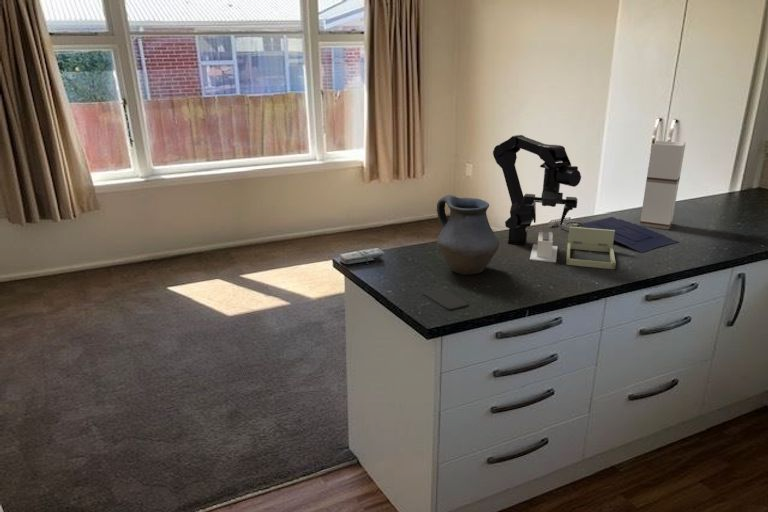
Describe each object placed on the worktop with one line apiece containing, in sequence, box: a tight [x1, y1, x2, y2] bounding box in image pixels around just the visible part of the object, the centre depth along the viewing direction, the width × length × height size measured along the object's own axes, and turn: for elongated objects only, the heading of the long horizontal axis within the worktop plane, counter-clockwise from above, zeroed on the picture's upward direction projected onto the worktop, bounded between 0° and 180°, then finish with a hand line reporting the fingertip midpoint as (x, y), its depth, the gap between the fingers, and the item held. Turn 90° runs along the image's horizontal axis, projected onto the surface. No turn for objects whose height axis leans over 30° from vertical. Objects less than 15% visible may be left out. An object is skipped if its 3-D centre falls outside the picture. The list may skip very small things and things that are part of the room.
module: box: [537, 230, 554, 258], centre depth 210 cm, size 5×12×7 cm, turn 164°
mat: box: [529, 243, 559, 263], centre depth 211 cm, size 9×18×1 cm, turn 162°
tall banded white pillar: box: [639, 140, 686, 230], centre depth 242 cm, size 11×11×35 cm
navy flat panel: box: [581, 216, 679, 253], centre depth 230 cm, size 24×30×4 cm
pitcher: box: [436, 194, 500, 276], centre depth 191 cm, size 21×22×25 cm
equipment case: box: [565, 227, 617, 270], centre depth 206 cm, size 16×21×8 cm
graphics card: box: [548, 217, 586, 232], centre depth 240 cm, size 17×4×12 cm
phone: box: [421, 287, 469, 311], centre depth 171 cm, size 7×1×15 cm
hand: (547, 223), depth 209 cm, fingers open, 9 cm apart
